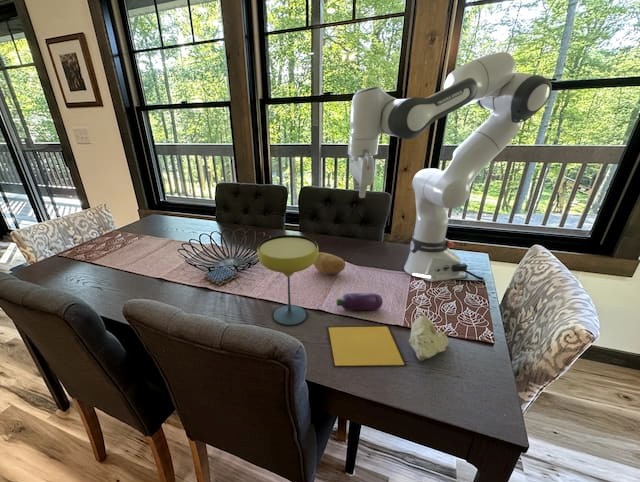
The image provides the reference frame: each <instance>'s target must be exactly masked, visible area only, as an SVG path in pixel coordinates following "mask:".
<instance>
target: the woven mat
mask: <svg viewBox="0 0 640 482" xmlns="http://www.w3.org/2000/svg"><path fill="white" fill-rule="evenodd" d="M239 276H240V275H239V274H238V272H237V271H235V270H232V269H230V268H228V267H225V266H220V267H217V268H216V269H214V270H211V271H210V272H209V271H208V272H207V273H204V278H205V279H206V280H207V281H210V282H211V283H214V284H215V285H218V286H222V285H223V284H225V283H226V284H227V282H230V281H232V280H233V279H236V278H238V277H239Z"/></svg>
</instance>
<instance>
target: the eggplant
mask: <svg viewBox="0 0 640 482" xmlns="http://www.w3.org/2000/svg"><path fill="white" fill-rule="evenodd" d="M335 303H336V306H337V307H342V308H343V309H344V310H346V311H377V310H379V309H380V308H381V307H382V306H383V303H384V301H383V298H382V296H381V295H380V294H379V293H376V292H360V293H359V292H353V293H345V294H344V295H343V296H342V297H341V298H336V301H335Z"/></svg>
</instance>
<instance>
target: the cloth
mask: <svg viewBox="0 0 640 482" xmlns="http://www.w3.org/2000/svg"><path fill="white" fill-rule="evenodd" d="M328 333H329V338H330V344H331V350H332V355H333V362H334V366H335V367H357V366H358V367H361V366H362V367H367V366H369V367H371V366H377V367H378V366H405V362H404V361H403V358H402V356H401V354H400V352H399V350H398V347H397V344H396V343H395V340H394V338H393V336H392V334H391V331H390V329H389V327H388V326H338V327H337V326H332V327H330V326H329V327H328Z"/></svg>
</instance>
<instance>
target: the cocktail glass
mask: <svg viewBox="0 0 640 482" xmlns="http://www.w3.org/2000/svg"><path fill="white" fill-rule="evenodd" d="M256 251H257V259H258V262H259V263H260V264H261V265H262V266H263V267H265V268H266V269H268V270H269V271H272V272H276V273H281V274H283V275H284V276H285V277H287V305H282V306H280V307H278V308H277V309H276V310H275V311H274V312H273V319H274V320H275V322H277V323H278V324H281V325H283V326H295V325H298V324H300V323H302V322H304V321H305V320H306V318H307V312H306V311H305V309H304V308H302V307H301V306H298V305H293V304H292V303H291V301H292V300H291V277H292V276H293V275H294V274H295V273H298V272H301V271H305V270H306V269H308V268H311V266H313V265H314V263H315V261H316V260H317V258H318V253H319V245H318V243H317V242H316V241H315V240H314V239H312V238H310V237H307V236H303V235H298V234H297V235H296V234H283V235H276V236H272V237H269V238H266V239H263V240H262V241H261V242H260V243H259V244H258V246H257V249H256Z"/></svg>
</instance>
